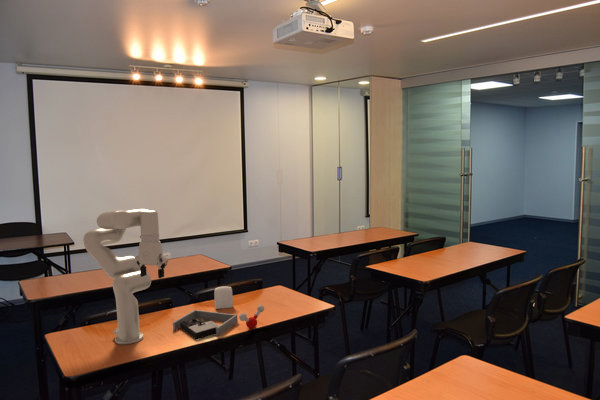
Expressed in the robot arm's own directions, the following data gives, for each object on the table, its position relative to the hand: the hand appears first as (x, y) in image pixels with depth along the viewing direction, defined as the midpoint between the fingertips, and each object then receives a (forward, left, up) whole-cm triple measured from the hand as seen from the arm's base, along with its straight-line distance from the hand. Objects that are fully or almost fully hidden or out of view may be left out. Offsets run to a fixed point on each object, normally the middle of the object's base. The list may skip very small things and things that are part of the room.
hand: (152, 276), depth 191 cm
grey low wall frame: (+6, +30, -33) cm, 45 cm away
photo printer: (0, +58, -34) cm, 67 cm away
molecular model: (+30, +35, -34) cm, 57 cm away
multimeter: (+6, +25, -34) cm, 43 cm away
